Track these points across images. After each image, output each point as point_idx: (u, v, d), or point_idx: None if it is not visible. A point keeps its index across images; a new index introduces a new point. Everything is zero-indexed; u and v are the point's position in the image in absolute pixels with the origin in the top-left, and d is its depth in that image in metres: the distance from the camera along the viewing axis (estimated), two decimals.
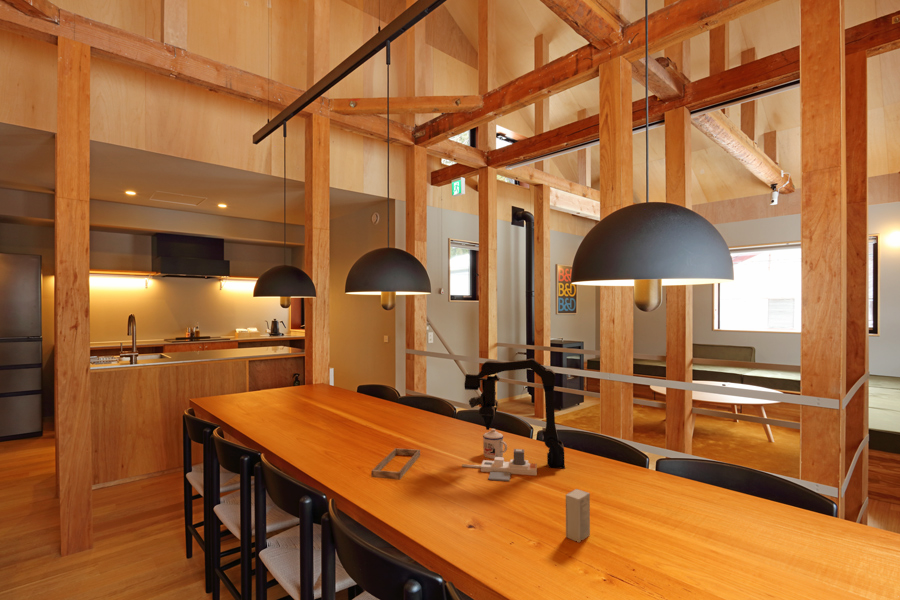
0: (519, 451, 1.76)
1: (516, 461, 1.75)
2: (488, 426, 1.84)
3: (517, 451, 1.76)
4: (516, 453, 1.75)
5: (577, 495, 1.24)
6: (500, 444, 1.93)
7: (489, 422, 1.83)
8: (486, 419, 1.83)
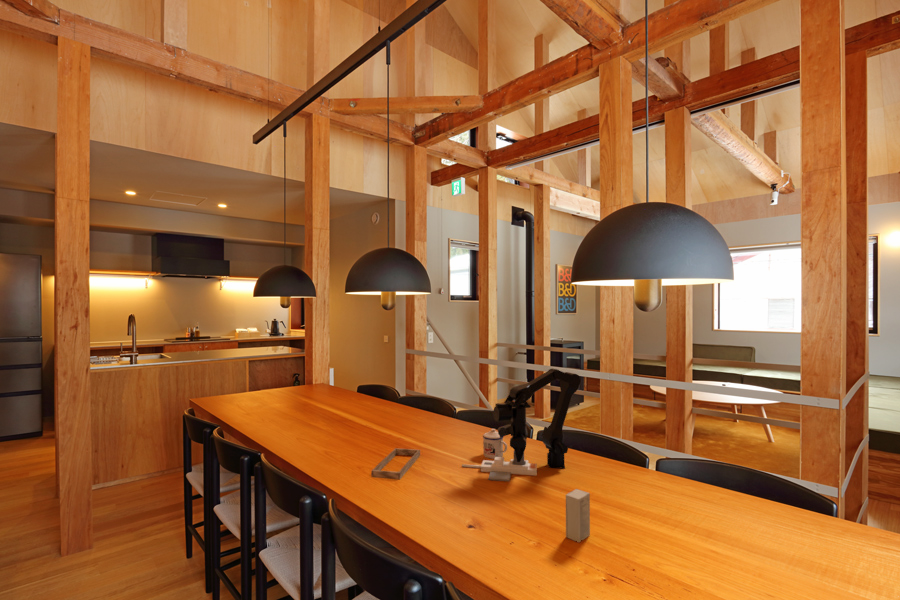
0: None
1: (516, 461, 1.75)
2: (519, 458, 1.72)
3: None
4: None
5: (577, 495, 1.24)
6: (500, 444, 1.93)
7: (520, 454, 1.71)
8: (517, 450, 1.72)
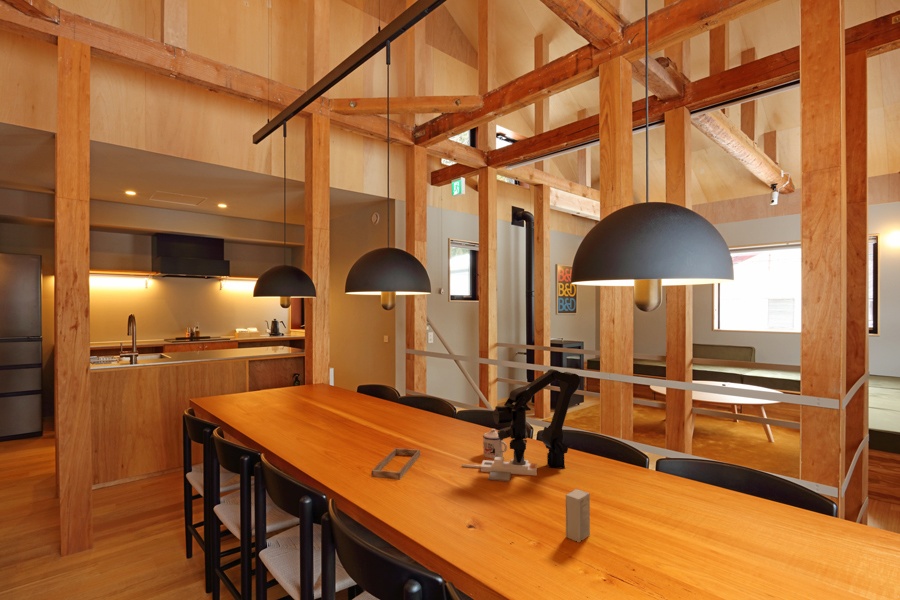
0: None
1: (516, 461, 1.75)
2: (519, 459, 1.74)
3: None
4: None
5: (577, 495, 1.24)
6: (500, 444, 1.93)
7: (520, 455, 1.74)
8: (517, 451, 1.74)
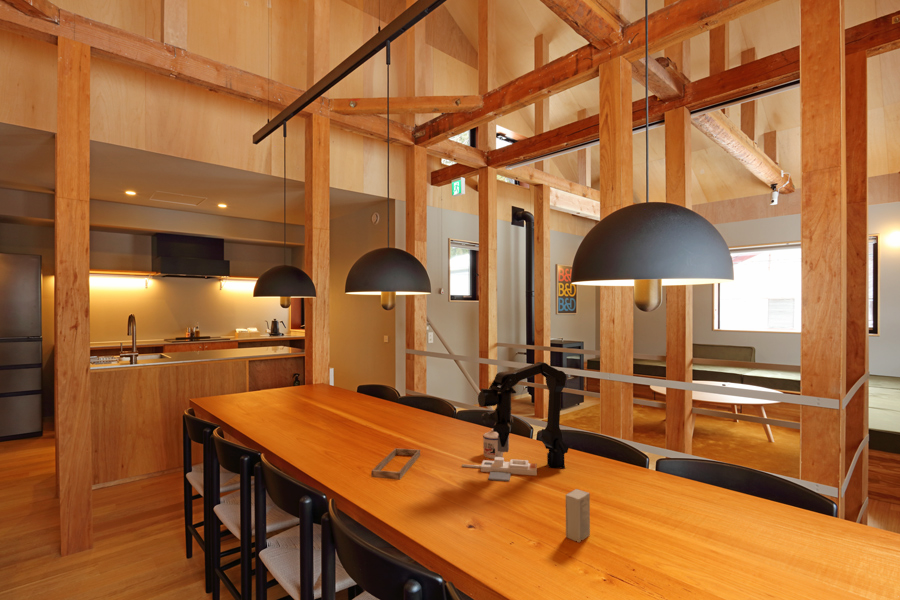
0: None
1: (500, 445, 1.71)
2: (503, 443, 1.70)
3: None
4: None
5: (577, 495, 1.24)
6: None
7: (505, 438, 1.69)
8: (501, 435, 1.69)
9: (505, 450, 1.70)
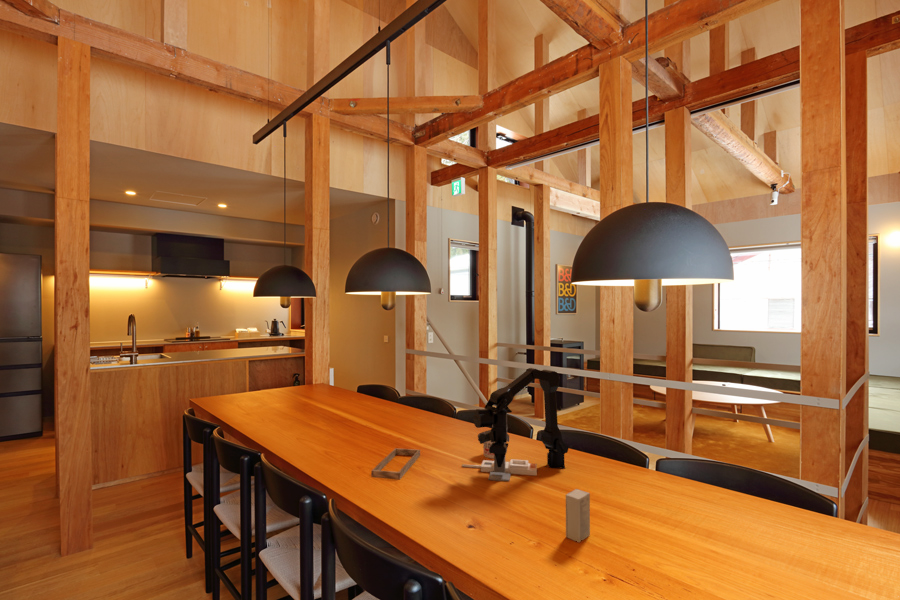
0: None
1: (497, 465, 1.69)
2: (500, 463, 1.68)
3: None
4: None
5: (577, 495, 1.24)
6: None
7: (501, 459, 1.67)
8: (498, 455, 1.68)
9: (502, 470, 1.69)
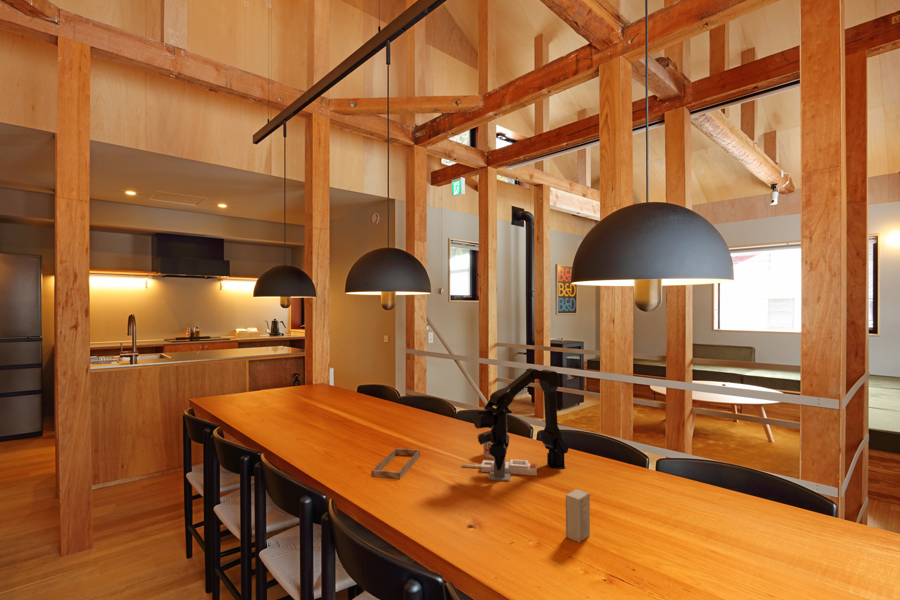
0: None
1: (497, 470, 1.69)
2: (499, 466, 1.66)
3: None
4: None
5: (577, 495, 1.24)
6: None
7: (500, 462, 1.65)
8: (497, 458, 1.65)
9: (502, 475, 1.69)
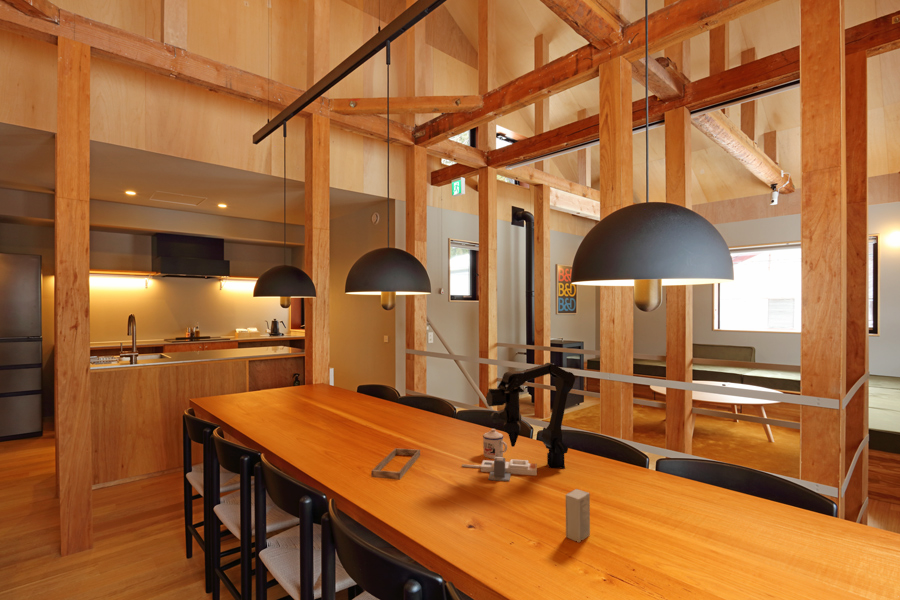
0: (500, 460, 1.70)
1: (497, 470, 1.69)
2: (513, 442, 1.71)
3: (498, 460, 1.70)
4: (497, 462, 1.69)
5: (577, 495, 1.24)
6: (500, 444, 1.93)
7: (514, 438, 1.71)
8: (511, 435, 1.71)
9: (502, 475, 1.69)
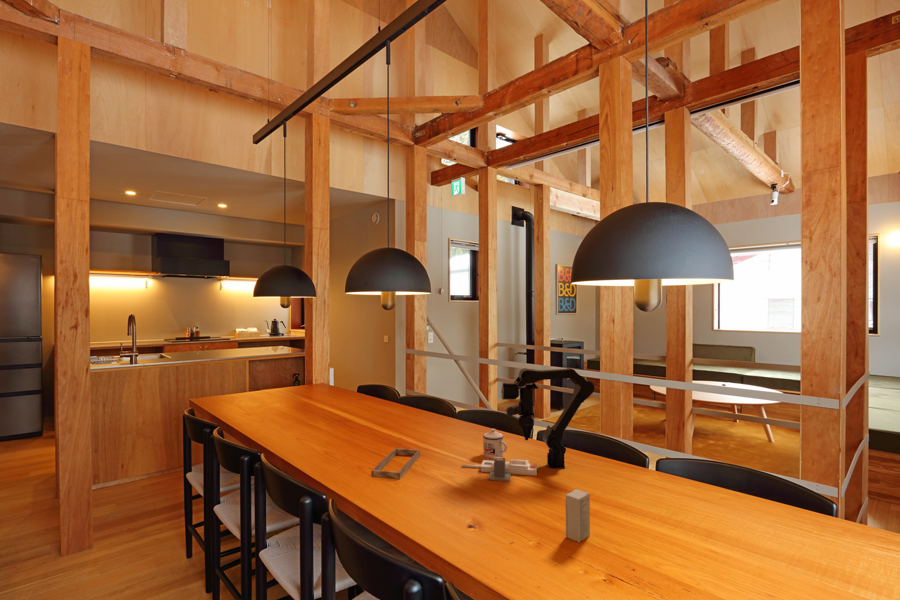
0: (500, 460, 1.70)
1: (497, 470, 1.69)
2: (527, 436, 1.77)
3: (498, 460, 1.70)
4: (497, 462, 1.69)
5: (577, 495, 1.24)
6: (500, 444, 1.93)
7: (528, 432, 1.77)
8: (525, 429, 1.77)
9: (502, 475, 1.69)
